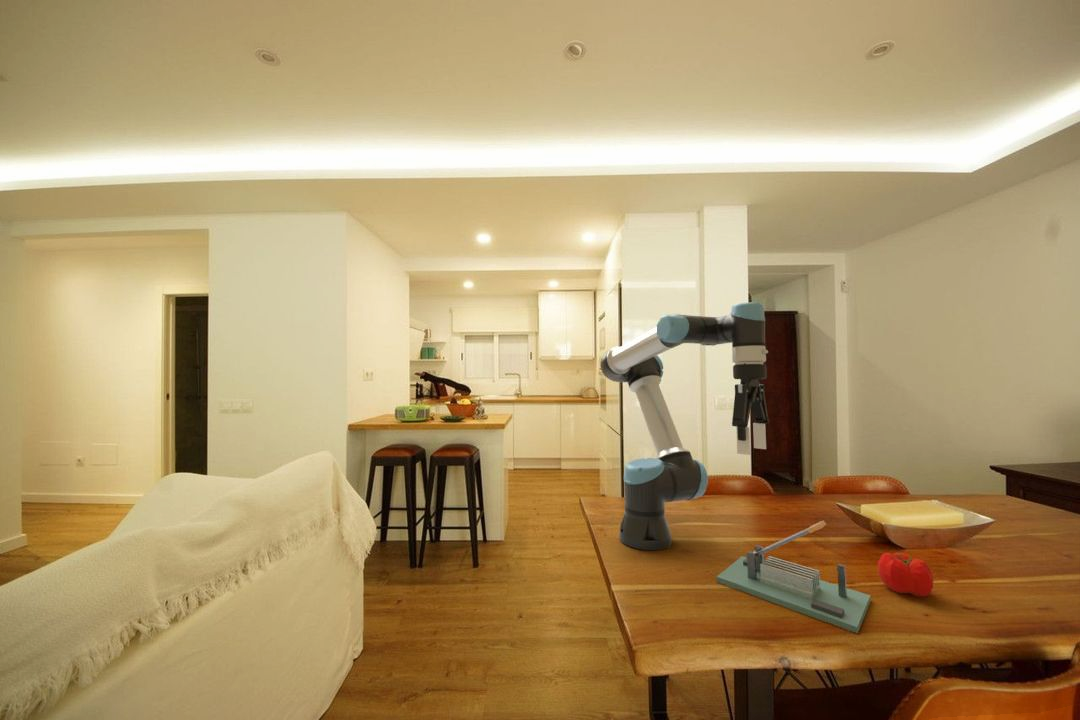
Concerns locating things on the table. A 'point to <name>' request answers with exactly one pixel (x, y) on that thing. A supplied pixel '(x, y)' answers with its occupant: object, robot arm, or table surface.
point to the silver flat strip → (791, 538)
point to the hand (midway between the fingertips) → (752, 451)
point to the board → (821, 607)
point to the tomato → (905, 574)
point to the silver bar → (790, 575)
